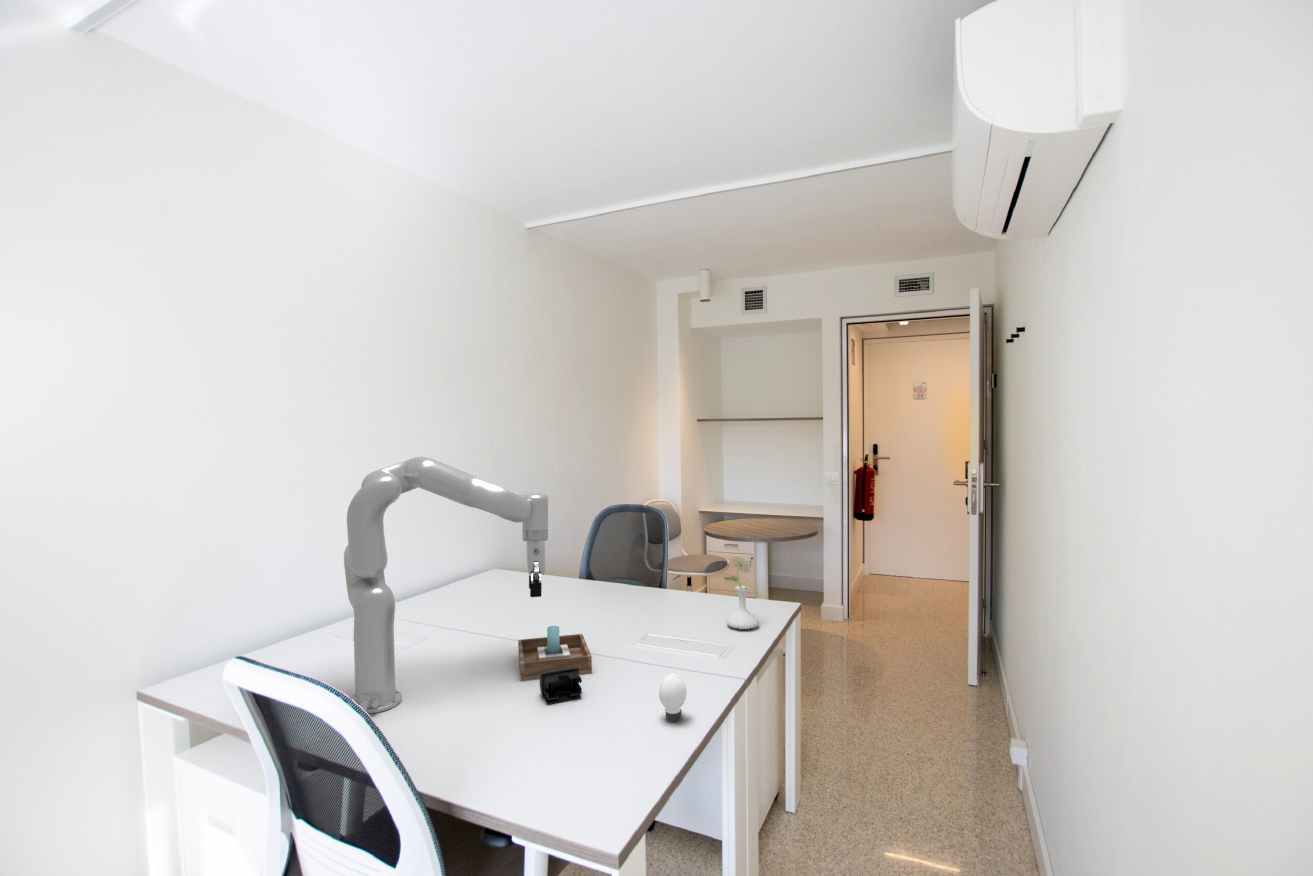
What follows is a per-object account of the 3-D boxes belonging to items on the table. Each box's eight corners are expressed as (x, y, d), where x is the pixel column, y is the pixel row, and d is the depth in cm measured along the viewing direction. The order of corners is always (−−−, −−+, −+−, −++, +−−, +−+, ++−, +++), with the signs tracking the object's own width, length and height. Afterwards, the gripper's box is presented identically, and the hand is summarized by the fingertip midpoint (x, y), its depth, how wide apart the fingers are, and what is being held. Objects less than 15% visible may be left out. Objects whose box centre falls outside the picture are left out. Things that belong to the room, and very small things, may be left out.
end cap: (576, 688, 171) (575, 664, 171) (583, 699, 164) (583, 673, 164) (539, 695, 167) (539, 670, 167) (545, 706, 160) (545, 679, 160)
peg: (560, 662, 187) (559, 629, 186) (548, 663, 186) (547, 630, 185) (559, 658, 190) (558, 625, 190) (547, 659, 189) (546, 626, 189)
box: (591, 673, 181) (591, 656, 180) (520, 681, 176) (520, 663, 176) (582, 649, 200) (582, 633, 200) (518, 655, 195) (518, 639, 195)
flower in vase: (765, 629, 217) (764, 557, 216) (736, 634, 213) (735, 560, 212) (746, 618, 229) (745, 550, 228) (718, 622, 225) (717, 553, 224)
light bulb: (692, 718, 153) (691, 673, 152) (674, 728, 148) (674, 682, 147) (671, 710, 157) (670, 666, 157) (653, 719, 152) (652, 674, 152)
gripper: (550, 539, 179) (549, 599, 179) (546, 530, 196) (545, 584, 196) (523, 540, 177) (522, 601, 177) (521, 531, 194) (521, 586, 194)
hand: (535, 592), depth 187 cm, fingers open, 9 cm apart
